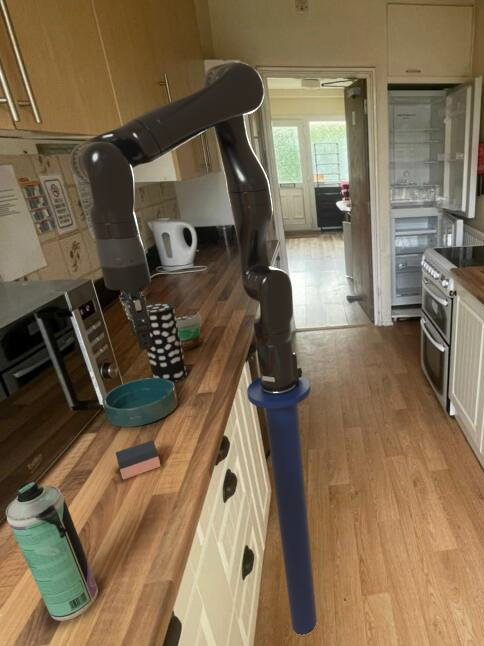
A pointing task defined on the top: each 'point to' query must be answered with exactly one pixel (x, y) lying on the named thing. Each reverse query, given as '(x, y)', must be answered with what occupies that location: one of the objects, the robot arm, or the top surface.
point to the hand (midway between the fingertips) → (142, 341)
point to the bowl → (140, 402)
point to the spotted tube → (165, 343)
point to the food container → (189, 330)
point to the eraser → (137, 459)
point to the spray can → (52, 550)
